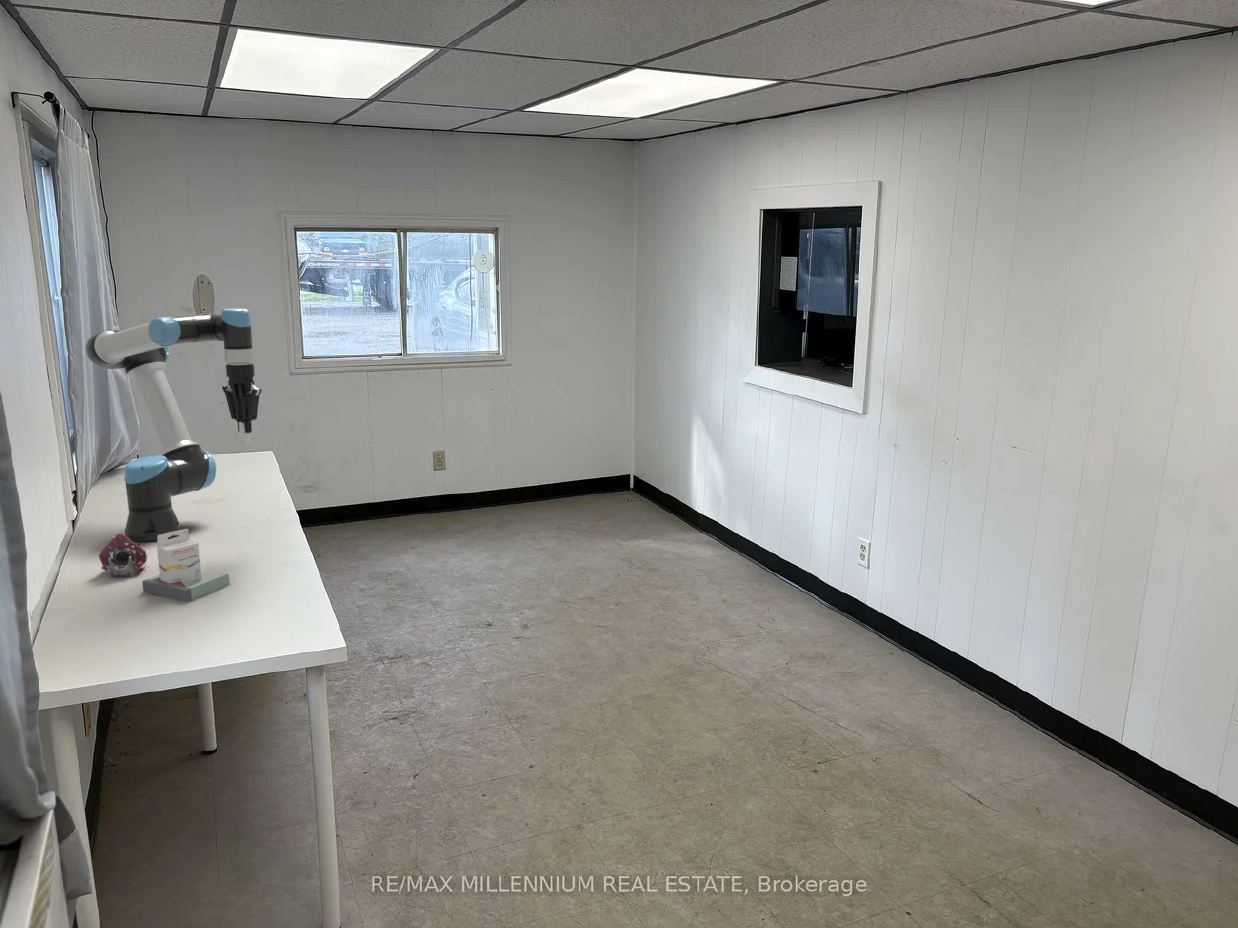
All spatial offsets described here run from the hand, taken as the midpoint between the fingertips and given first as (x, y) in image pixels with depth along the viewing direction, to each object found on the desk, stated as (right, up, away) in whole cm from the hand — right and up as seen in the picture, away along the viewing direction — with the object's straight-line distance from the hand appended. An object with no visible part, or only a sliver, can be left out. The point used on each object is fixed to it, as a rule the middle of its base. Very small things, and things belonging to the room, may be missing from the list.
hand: (246, 443), depth 265 cm
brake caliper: (-23, -35, -22) cm, 48 cm away
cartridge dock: (-1, -38, -32) cm, 50 cm away
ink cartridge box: (-3, -38, -32) cm, 50 cm away
